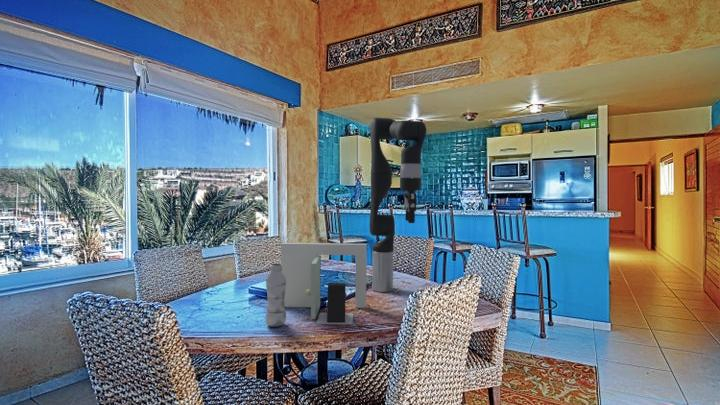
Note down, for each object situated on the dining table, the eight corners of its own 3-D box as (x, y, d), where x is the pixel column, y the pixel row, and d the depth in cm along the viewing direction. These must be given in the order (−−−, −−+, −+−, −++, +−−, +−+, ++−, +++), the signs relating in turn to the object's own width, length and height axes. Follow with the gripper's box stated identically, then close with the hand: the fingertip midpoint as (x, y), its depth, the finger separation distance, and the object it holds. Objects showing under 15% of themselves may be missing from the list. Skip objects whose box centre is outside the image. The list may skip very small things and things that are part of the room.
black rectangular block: (344, 322, 127) (345, 287, 126) (326, 322, 127) (327, 287, 126) (345, 313, 136) (345, 280, 135) (328, 313, 136) (328, 280, 135)
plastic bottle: (267, 322, 127) (266, 262, 126) (287, 321, 128) (287, 262, 127) (263, 329, 121) (263, 267, 120) (285, 329, 121) (285, 266, 121)
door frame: (282, 305, 145) (282, 242, 144) (365, 306, 145) (366, 243, 144) (269, 323, 126) (269, 251, 125) (366, 324, 126) (366, 252, 125)
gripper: (398, 177, 144) (397, 219, 145) (402, 176, 130) (401, 223, 130) (418, 177, 144) (417, 220, 145) (424, 176, 130) (423, 223, 130)
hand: (409, 221), depth 137 cm, fingers open, 8 cm apart
